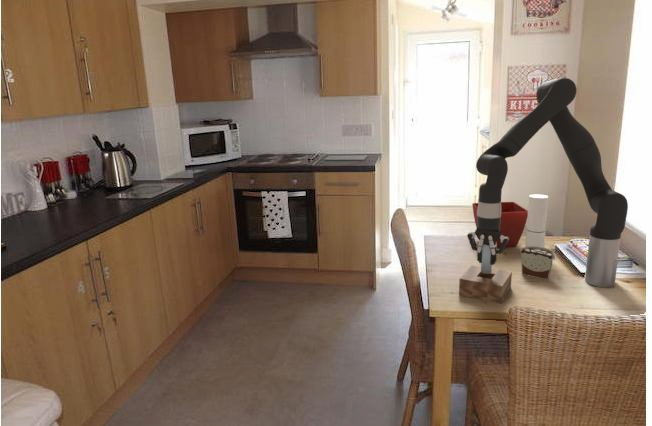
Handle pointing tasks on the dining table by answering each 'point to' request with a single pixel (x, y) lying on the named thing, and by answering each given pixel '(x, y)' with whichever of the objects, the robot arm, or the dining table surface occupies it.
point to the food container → (536, 262)
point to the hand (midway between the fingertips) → (486, 263)
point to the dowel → (486, 259)
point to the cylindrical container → (536, 220)
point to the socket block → (485, 284)
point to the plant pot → (509, 222)
